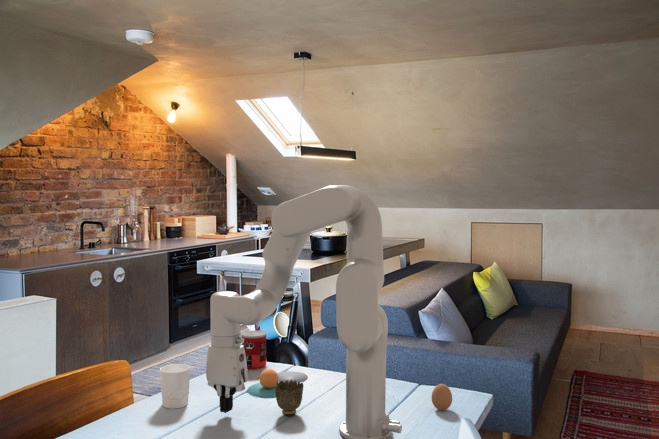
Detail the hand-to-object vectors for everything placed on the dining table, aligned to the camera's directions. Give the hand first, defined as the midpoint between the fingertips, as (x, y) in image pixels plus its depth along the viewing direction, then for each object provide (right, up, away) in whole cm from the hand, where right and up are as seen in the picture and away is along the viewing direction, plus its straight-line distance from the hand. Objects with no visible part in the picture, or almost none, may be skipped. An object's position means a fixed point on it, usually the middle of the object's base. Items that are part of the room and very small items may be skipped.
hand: (226, 410), depth 156 cm
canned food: (+2, +1, +42) cm, 42 cm away
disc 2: (+14, 0, +31) cm, 34 cm away
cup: (+16, -2, +2) cm, 16 cm away
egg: (+56, -2, +5) cm, 56 cm away
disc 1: (+9, 0, +20) cm, 22 cm away
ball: (+9, +3, +21) cm, 23 cm away
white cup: (-15, -1, +9) cm, 17 cm away
